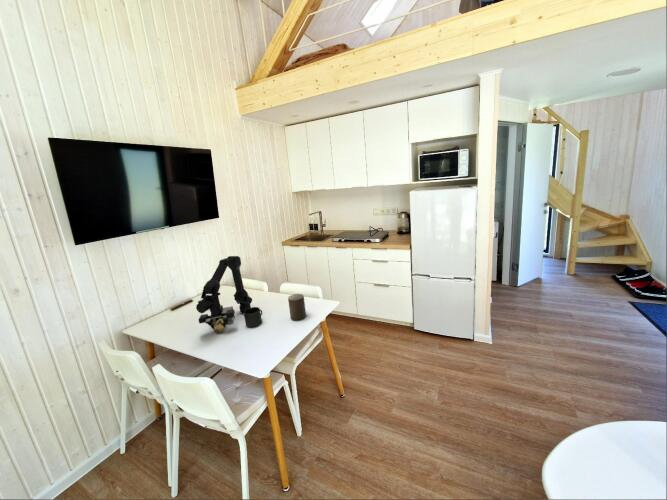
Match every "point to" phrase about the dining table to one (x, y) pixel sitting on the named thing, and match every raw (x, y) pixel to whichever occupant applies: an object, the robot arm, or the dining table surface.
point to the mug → (253, 317)
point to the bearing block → (230, 320)
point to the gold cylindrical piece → (219, 325)
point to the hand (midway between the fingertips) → (219, 329)
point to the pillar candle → (297, 307)
